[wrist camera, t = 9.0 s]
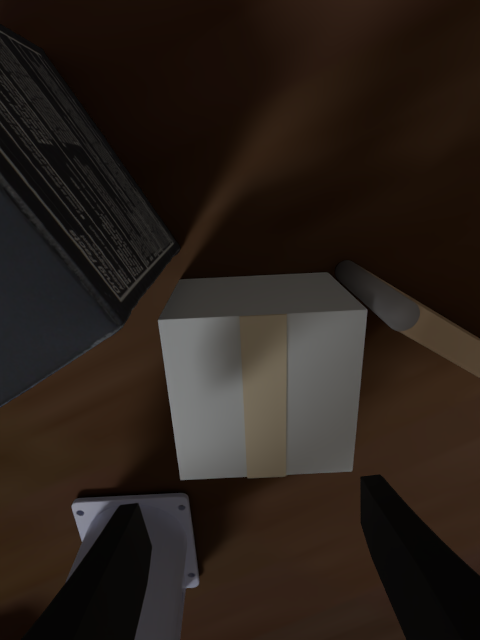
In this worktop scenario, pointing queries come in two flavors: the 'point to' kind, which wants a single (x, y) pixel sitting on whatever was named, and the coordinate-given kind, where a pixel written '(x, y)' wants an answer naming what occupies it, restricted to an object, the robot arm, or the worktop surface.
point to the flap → (412, 317)
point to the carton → (263, 374)
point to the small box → (63, 225)
